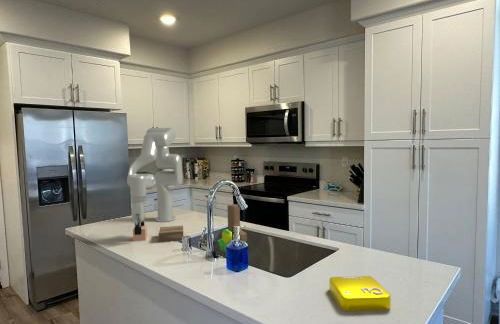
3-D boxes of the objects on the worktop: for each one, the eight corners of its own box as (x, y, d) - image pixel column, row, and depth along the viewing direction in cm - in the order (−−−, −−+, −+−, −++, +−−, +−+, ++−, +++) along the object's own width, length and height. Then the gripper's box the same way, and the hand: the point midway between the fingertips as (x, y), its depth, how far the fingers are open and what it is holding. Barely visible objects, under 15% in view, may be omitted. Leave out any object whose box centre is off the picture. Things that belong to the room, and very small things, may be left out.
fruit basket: (246, 252, 143) (246, 227, 142) (232, 258, 136) (231, 232, 136) (229, 247, 151) (228, 223, 150) (215, 252, 144) (214, 227, 143)
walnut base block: (160, 236, 171) (160, 227, 171) (183, 234, 174) (183, 225, 173) (159, 243, 159) (158, 233, 159) (183, 241, 162) (183, 231, 162)
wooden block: (247, 241, 158) (246, 205, 157) (241, 244, 155) (240, 207, 153) (234, 238, 164) (233, 203, 163) (227, 240, 160) (227, 205, 159)
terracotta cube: (135, 237, 168) (135, 226, 168) (147, 237, 169) (146, 226, 169) (133, 241, 162) (132, 229, 162) (145, 240, 163) (145, 229, 163)
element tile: (371, 287, 108) (371, 273, 107) (393, 311, 93) (393, 295, 93) (327, 289, 107) (327, 275, 107) (342, 312, 92) (342, 296, 92)
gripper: (134, 197, 172) (135, 228, 173) (127, 202, 155) (128, 237, 156) (148, 196, 173) (149, 227, 174) (143, 201, 156) (144, 236, 157)
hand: (139, 232), depth 165 cm, fingers open, 9 cm apart
